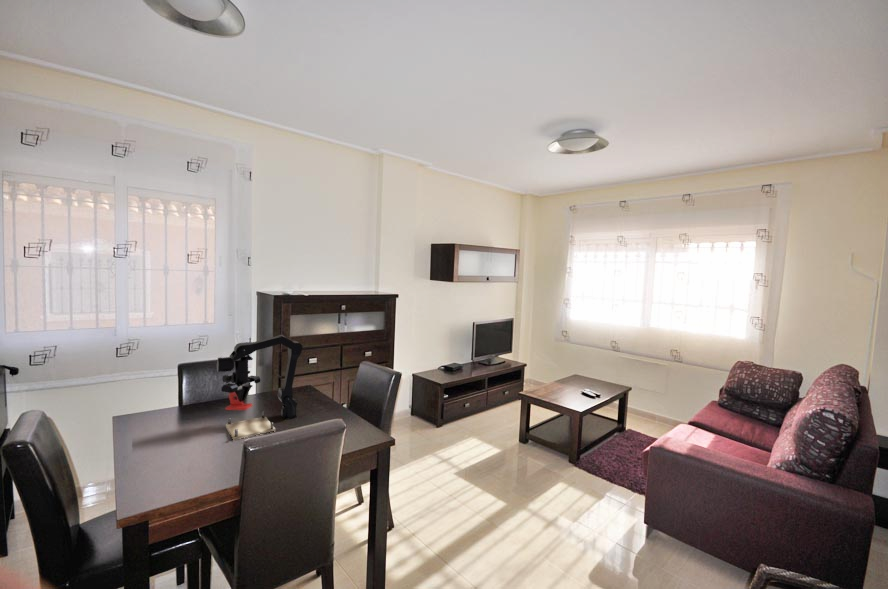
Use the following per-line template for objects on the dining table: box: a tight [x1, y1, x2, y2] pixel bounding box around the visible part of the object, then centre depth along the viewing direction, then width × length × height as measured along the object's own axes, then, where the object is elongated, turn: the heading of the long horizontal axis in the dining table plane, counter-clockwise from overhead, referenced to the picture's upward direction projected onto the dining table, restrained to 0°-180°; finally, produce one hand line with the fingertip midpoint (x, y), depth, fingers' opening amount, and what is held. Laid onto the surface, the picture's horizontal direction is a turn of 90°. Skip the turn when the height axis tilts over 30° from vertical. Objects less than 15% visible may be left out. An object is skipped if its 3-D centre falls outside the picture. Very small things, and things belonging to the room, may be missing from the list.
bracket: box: [224, 392, 253, 411], centre depth 191 cm, size 12×4×8 cm, turn 72°
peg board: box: [225, 411, 276, 441], centre depth 189 cm, size 18×18×4 cm
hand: (241, 401), depth 192 cm, fingers closed on bracket
